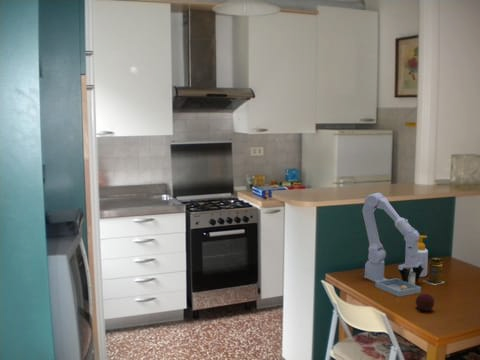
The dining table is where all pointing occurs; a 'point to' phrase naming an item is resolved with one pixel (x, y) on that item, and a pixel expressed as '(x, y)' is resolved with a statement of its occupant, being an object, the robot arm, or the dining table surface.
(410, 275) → the shaker
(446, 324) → the dining table surface
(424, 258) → the soap bottle
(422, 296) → the dark purple sphere
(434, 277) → the condiment
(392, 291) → the tray
